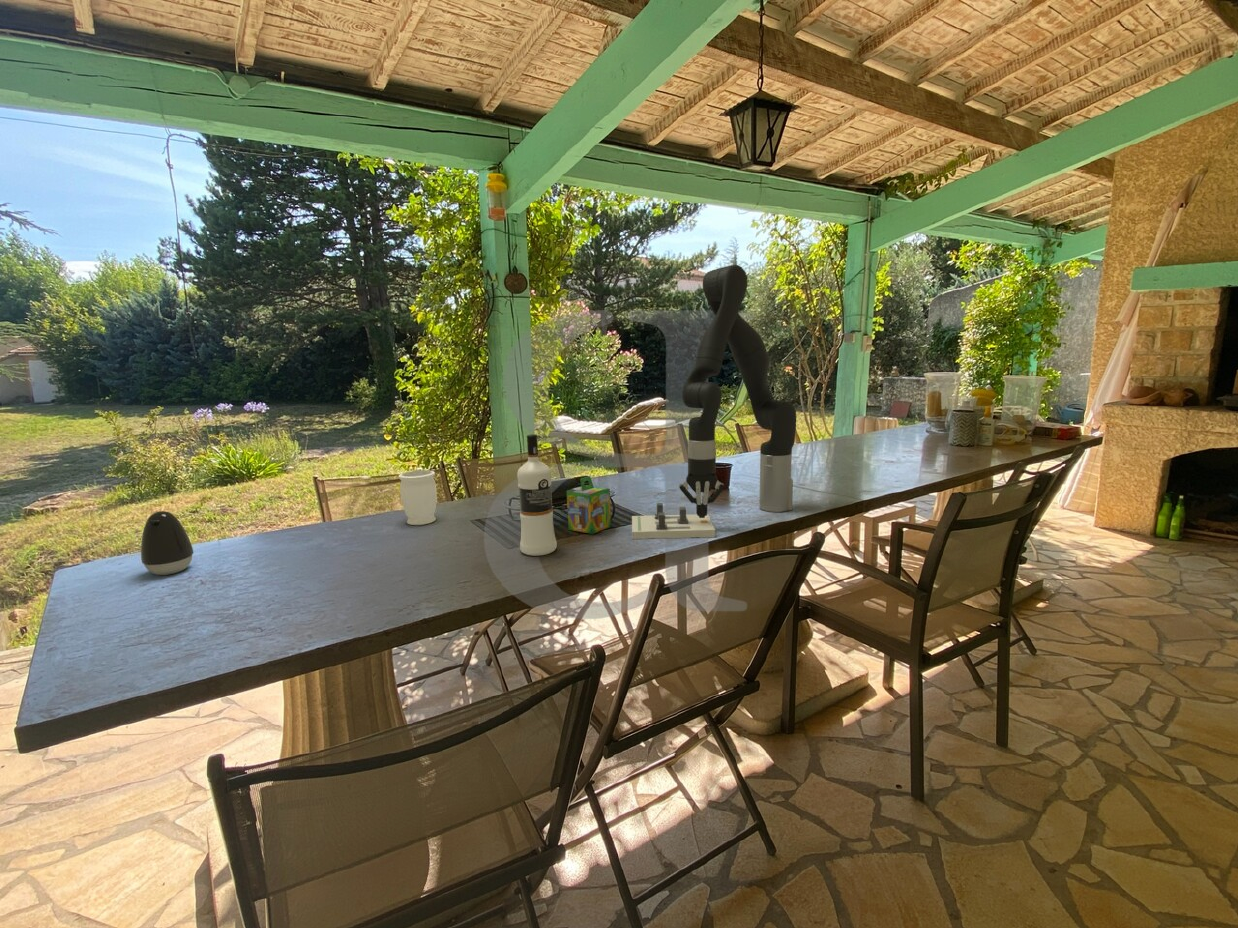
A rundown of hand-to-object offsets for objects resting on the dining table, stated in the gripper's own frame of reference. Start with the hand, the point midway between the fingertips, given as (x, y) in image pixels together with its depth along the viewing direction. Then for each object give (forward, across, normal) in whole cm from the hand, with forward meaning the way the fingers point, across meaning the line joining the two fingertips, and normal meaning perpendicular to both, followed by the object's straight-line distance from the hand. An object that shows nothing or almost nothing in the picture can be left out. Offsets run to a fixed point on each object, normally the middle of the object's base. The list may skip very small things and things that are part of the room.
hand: (701, 517), depth 168 cm
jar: (+4, +83, -14) cm, 85 cm away
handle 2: (+1, +11, +5) cm, 12 cm away
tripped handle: (+1, +5, 0) cm, 5 cm away
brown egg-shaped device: (+4, +132, +24) cm, 135 cm away
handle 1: (+1, +11, -5) cm, 12 cm away
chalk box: (+4, +31, -3) cm, 32 cm away
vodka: (+4, +43, +15) cm, 46 cm away
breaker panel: (+3, +8, 0) cm, 9 cm away
